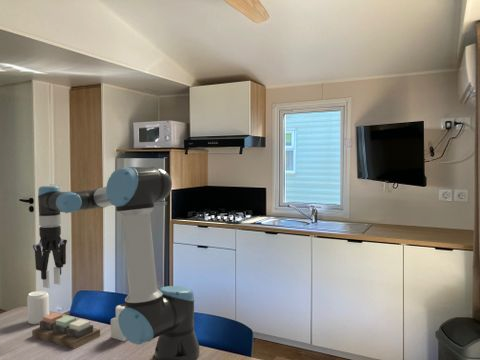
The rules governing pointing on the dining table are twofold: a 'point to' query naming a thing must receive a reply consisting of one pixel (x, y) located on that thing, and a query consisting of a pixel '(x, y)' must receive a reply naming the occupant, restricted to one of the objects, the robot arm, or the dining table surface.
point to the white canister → (37, 306)
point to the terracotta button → (52, 318)
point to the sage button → (65, 321)
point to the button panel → (65, 334)
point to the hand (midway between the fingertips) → (51, 285)
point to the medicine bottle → (117, 325)
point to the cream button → (79, 325)
